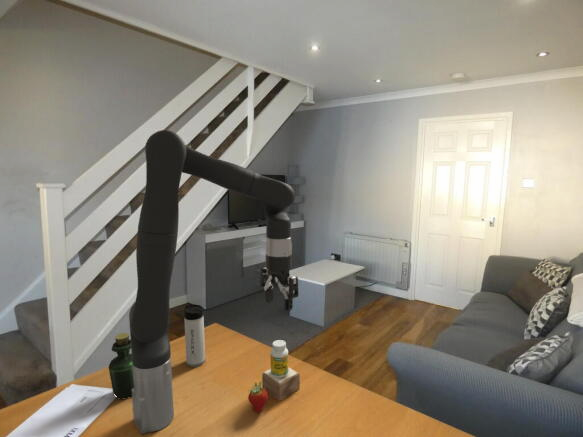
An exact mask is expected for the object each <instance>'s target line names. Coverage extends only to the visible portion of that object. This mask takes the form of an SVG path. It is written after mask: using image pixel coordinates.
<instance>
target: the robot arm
mask: <svg viewBox="0 0 583 437" xmlns="http://www.w3.org/2000/svg"><path fill="white" fill-rule="evenodd" d="M144 151H145V152H144V153H145V167H146V168H145V169H146V171H145V172H146V180H145V192H144V196H143V200H142V205H141V208H140V214H139V218H138V224H137V225H138V226H137V234H136V245H135V246H136V249H135V251H136V253H135V256H136V275H137V288H136V296H135V302H134V303H133V304H132V306H131V307H130V310H129V315H128V319H129V320H128V322H129V337H130V340H131V349H130V350H131V353H130V354H132V365H133V379H134V388H133V389H132V397H131V400H132V413H133V414H132V415H133V416H132V417H133V423H134V425H135V426H136V427H137V429H138V431H139V432H140V434H141V435H142V434H143V435H144V434H146V433H152V432H157V431H160V430H162V429H164V428H167V426H169V425H170V424H171V422H172V421H173V420H174V415H175V412H174V411H175V410H174V409H175V408H174V397H173V396H174V395H173V394H174V392H173V390H174V389H173V377H172V376H173V375H172V374H173V373H172V358H171V357H172V355H171V354H172V353H171V351H172V350H171V343H170V335H169V327H170V322H171V320H170V319H171V318H170V317H171V316H170V314H171V313H170V311H171V310H170V287H171V282H172V281H171V280H172V275H173V272H174V271H173V270H174V265H175V259H176V258H175V257H176V252H177V250H176V249H177V244H178V236H179V235H178V233H179V221H180V220H179V217H180V216H179V215H180V214H179V212H180V211H179V210H180V208H179V205H180V204H179V192H180V185H181V181H182V180H181V179H182V173H184V174H186V175H187V174H188V175H191V176H193V177H197V178H199V179H202V180H205V181H206V182H207V181H208V182H210V183H212V184H214V185H217V186H219V187H221V188H223V189H226V190H228V191H231V192H233V193H236V194H239V195H241V196H244V197H248V198H252V199H256V200H258V201H260V202H263V207H264V208H263V209H264V214H265V215H264V216H265V220H266V227H265V228H266V229H265V231H266V234H265V235H266V236H265V237H266V239H265V267H262V268H260V282H259V286H260V287H261V288H263V289H264V292H265V298H264V299H265V303H267V304H269V303H272V302H273V300H274V290H273V288H274V287H276V288H278V289H279V291H280V292H281V293H282V294H283V296H284V311H285V312H287V313H288V312H290V311H292V310H293V308H294V306H293V300H294V299H296V298H298V297H299V277H298V276H297V275H296V276H291V274H290V271H291V269H292V266H293V265H292V260H293V259H292V258H293V254H292V253H293V252H292V250H293V244H292V221H291V218H290V217H289V216H288V212H287V211H288V210H287V208H289V207H290V206H292V205H293V203H294V202H295V200H296V199H295V198H296V195H295V191H294V189H293V187H292V186H291V185H290V184H287V183H286V182H283V181H281V180H277V179H274V178H272V177H271V178H270V177H267V176H264V175H262V174H260V173H258V172H255V171H253V170H251V169H249V168H246V167H243V166H242V165H238V164H235V163H232V162H230V161H226V160H223V159H219V158H215V157H214V156H213V157H212V156H210V155H206V154H205V153H202V152H199V150H198V151H197V150H195V149H193V148H192V147H190V146H188V145H187V144H185V142H184V140H183V139H182V137H181V136H180V135H179V134H178V133H176V132H174V131H171V130H167V129H162V130H158V131H156V132H153V133H152V134H150V136H149V137H148V138H147V140H146V143H145V147H144Z"/></svg>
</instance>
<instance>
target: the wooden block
mask: <svg viewBox="0 0 583 437" xmlns="http://www.w3.org/2000/svg"><path fill="white" fill-rule="evenodd" d="M261 373H262V375H261V380H262V381H261V388H264V387H265V388H264V389H265V390H266V391H267V394H270V395H271V396H272V397H273V398H274V399H276V400H278V402H281V401H283V400H284V399H285V398H288V397H289V396H291V395H292V394H294V393H296V392H297V391H298V390H300V387H301V385H300V384H301V383H300V380H301V379H300V378H301V377H300V374H301V373H299V372H297V371H295V370H294V369H293V368H291V367H289V366H288V374H287V375H286V376H285V377H282V378H277V377H274V376H273V375H272V374H271V368H269V369H267V370H265V371H263V372H261Z"/></svg>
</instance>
